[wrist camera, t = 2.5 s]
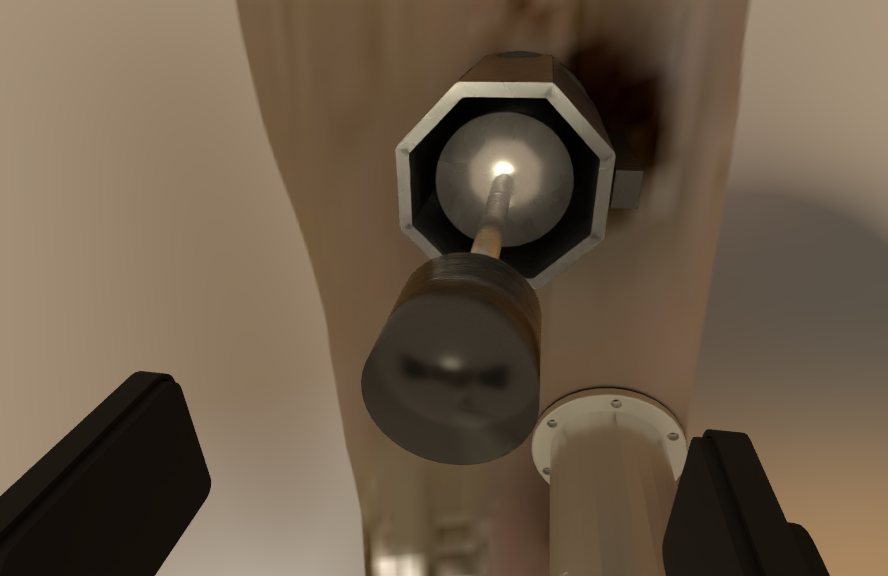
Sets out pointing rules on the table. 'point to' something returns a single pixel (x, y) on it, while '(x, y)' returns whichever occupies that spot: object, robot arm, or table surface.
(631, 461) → the robot arm
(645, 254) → the table surface
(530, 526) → the table surface
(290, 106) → the table surface
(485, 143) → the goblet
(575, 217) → the grey octagonal cup
